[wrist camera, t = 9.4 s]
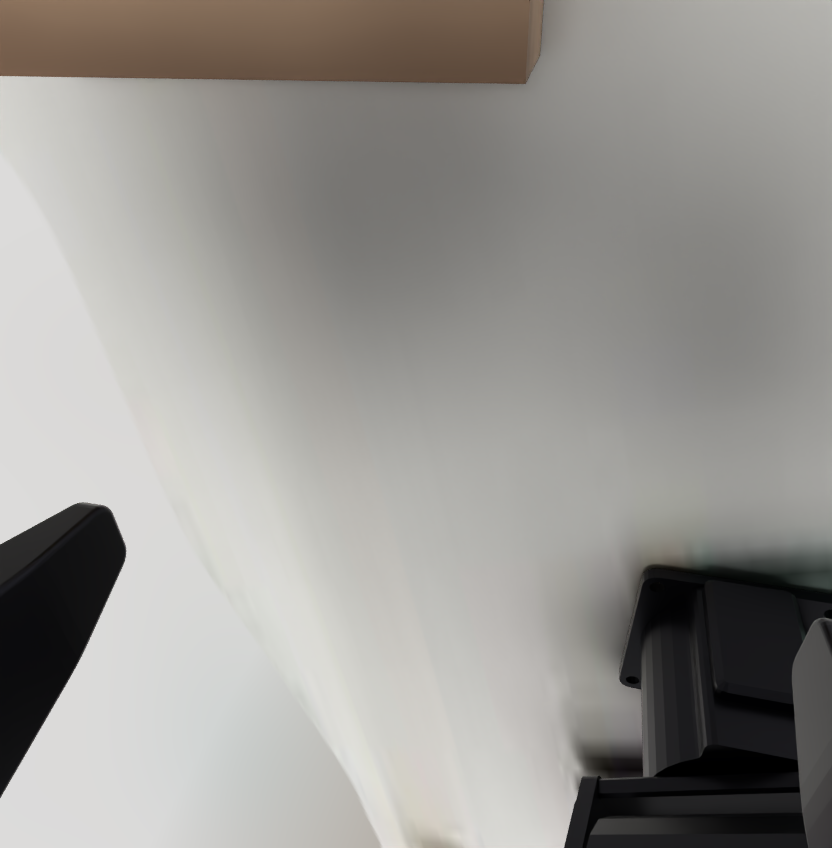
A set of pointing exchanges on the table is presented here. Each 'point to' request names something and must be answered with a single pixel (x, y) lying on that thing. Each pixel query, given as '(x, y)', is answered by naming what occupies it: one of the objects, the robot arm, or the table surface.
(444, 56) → the walnut base
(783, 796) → the robot arm
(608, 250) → the table surface
